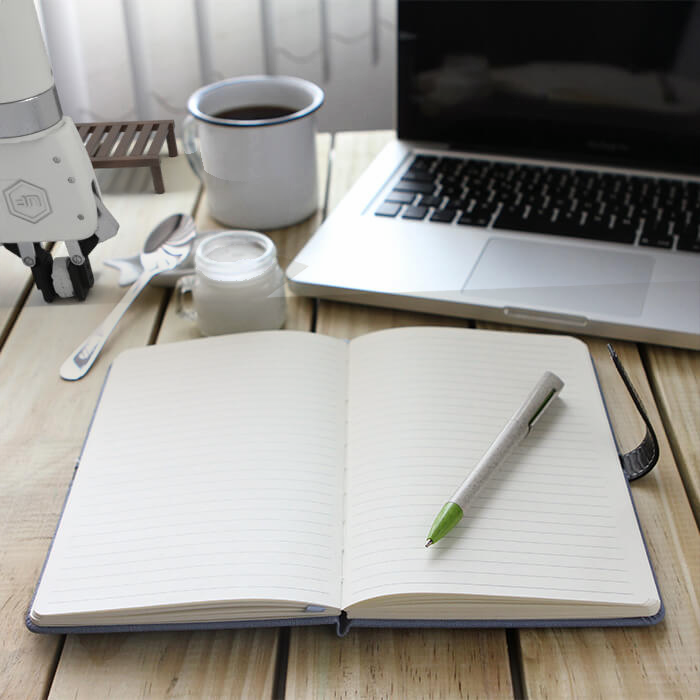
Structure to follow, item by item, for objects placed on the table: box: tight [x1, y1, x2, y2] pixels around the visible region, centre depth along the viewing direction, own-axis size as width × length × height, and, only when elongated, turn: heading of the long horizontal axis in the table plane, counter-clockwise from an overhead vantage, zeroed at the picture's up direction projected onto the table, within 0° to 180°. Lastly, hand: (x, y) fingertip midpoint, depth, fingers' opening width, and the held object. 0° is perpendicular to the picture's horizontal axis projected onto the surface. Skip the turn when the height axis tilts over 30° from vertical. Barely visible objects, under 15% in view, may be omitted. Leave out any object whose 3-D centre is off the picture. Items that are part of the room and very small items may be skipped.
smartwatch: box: [51, 255, 76, 299], centre depth 76 cm, size 4×2×4 cm, turn 10°
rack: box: [73, 119, 179, 195], centre depth 97 cm, size 14×12×4 cm
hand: (68, 292), depth 77 cm, fingers closed on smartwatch, 2 cm apart
